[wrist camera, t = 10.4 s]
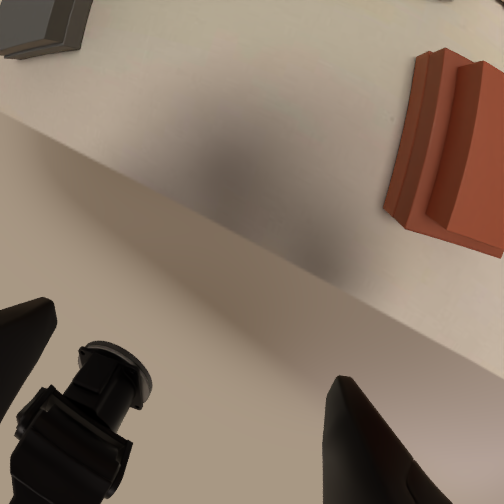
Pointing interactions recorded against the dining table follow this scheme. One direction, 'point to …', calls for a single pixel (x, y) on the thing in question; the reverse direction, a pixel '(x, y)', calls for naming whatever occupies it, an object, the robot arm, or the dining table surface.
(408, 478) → the robot arm
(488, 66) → the rust red rectangular block
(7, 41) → the grey books
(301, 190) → the dining table surface
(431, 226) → the rust books
